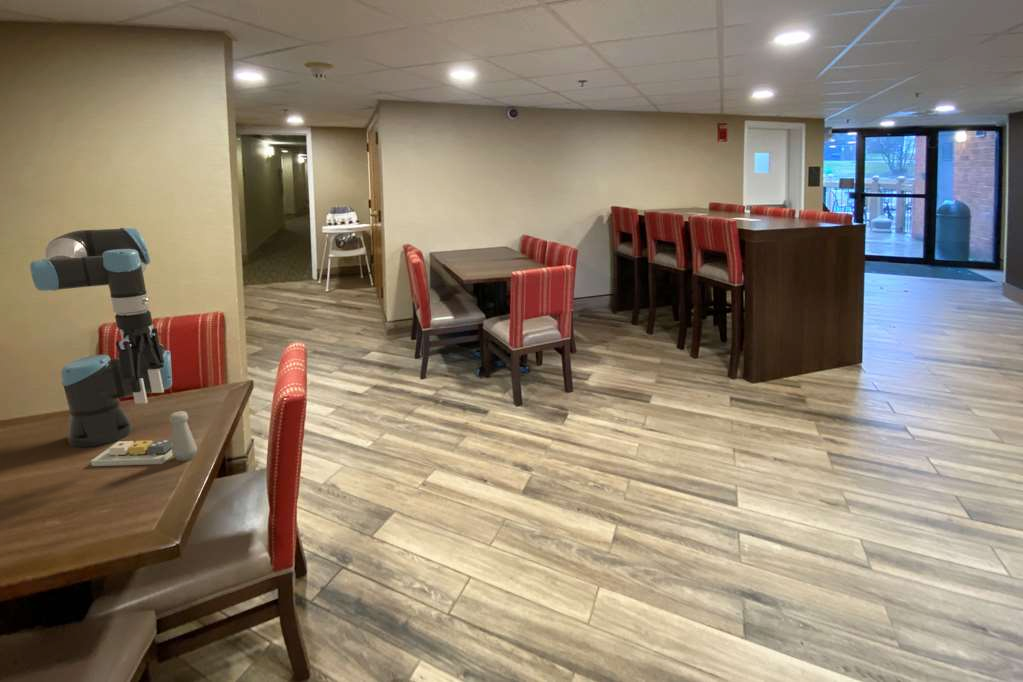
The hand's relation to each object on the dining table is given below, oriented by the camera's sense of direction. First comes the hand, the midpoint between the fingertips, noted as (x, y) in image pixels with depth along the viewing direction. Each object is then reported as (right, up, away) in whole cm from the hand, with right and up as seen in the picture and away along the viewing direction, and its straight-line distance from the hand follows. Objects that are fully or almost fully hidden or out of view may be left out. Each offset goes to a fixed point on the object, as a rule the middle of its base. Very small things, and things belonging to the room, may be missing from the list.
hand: (149, 397), depth 147 cm
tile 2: (-5, -15, +4) cm, 16 cm away
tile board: (-6, -17, +4) cm, 18 cm away
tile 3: (0, -15, +4) cm, 15 cm away
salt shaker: (+8, -17, +3) cm, 19 cm away
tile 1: (-10, -15, +4) cm, 18 cm away
